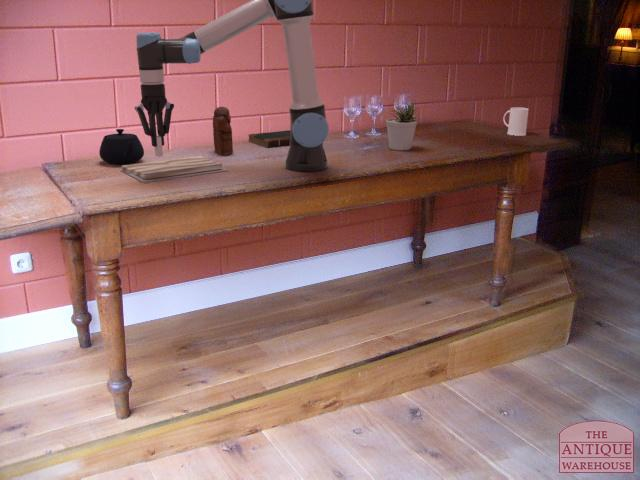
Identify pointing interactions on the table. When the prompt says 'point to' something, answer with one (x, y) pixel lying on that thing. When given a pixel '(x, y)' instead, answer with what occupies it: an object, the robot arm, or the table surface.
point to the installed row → (161, 163)
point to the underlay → (173, 175)
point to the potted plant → (402, 129)
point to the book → (271, 139)
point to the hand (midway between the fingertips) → (159, 155)
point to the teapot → (121, 148)
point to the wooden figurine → (222, 131)
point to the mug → (517, 121)
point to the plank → (176, 169)
